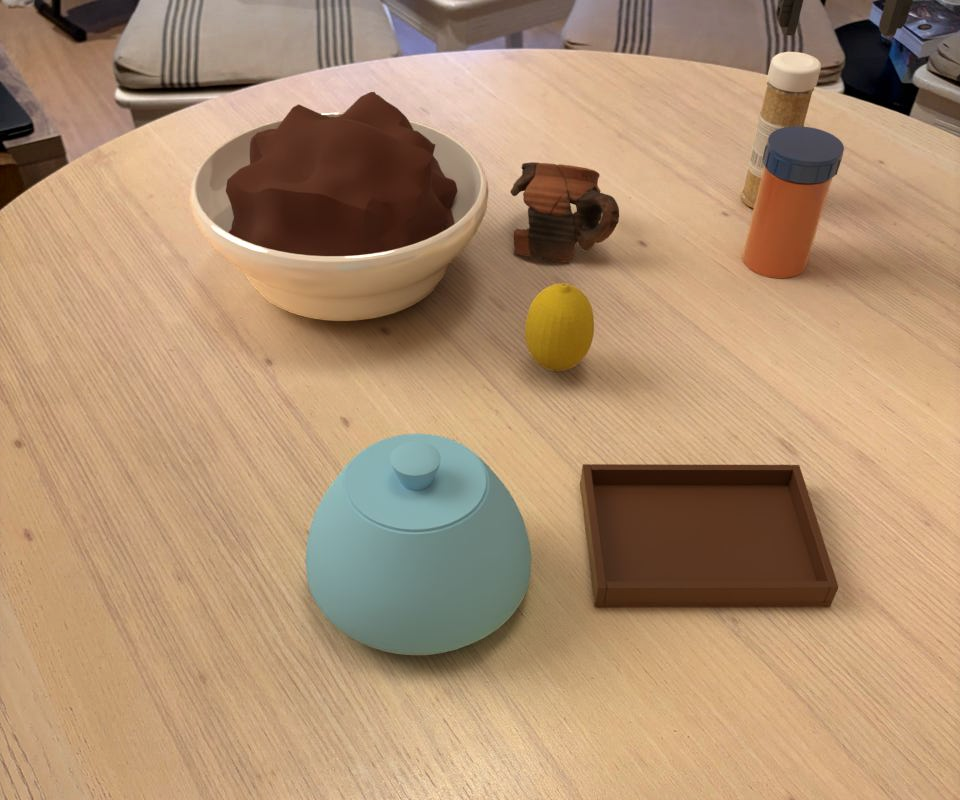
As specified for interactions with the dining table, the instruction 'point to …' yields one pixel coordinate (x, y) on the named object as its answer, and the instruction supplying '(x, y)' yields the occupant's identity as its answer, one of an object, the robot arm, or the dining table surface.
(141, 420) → the dining table surface
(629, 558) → the tray
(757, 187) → the sprinkles bottle
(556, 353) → the lemon
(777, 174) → the lid
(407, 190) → the bowl of chocolate mousse
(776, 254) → the jar
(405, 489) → the sugar bowl
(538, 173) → the pottery mug
